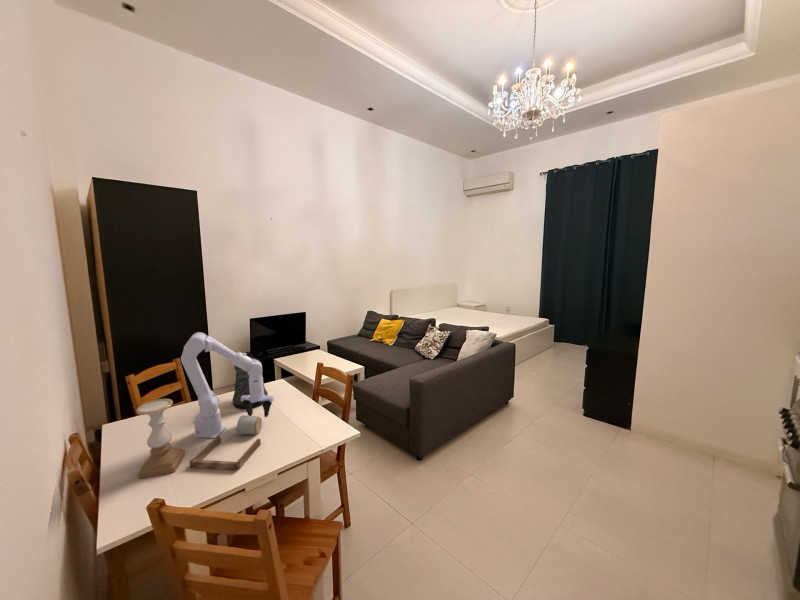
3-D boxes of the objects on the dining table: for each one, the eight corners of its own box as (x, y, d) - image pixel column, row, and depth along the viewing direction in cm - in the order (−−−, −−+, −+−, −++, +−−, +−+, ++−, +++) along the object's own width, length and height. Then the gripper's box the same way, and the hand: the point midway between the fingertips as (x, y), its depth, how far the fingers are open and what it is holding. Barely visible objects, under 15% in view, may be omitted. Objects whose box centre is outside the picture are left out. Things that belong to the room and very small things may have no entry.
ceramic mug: (256, 437, 131) (255, 420, 130) (236, 438, 130) (235, 421, 129) (265, 424, 141) (264, 408, 140) (247, 424, 141) (246, 408, 140)
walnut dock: (190, 467, 113) (189, 461, 112) (218, 442, 128) (217, 436, 127) (238, 470, 111) (237, 464, 111) (260, 444, 126) (260, 438, 126)
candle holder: (174, 472, 110) (166, 410, 106) (137, 479, 107) (128, 415, 103) (185, 453, 121) (178, 396, 117) (152, 458, 117) (144, 400, 114)
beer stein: (248, 413, 150) (244, 364, 146) (221, 404, 158) (217, 358, 154) (275, 398, 165) (271, 353, 161) (249, 391, 173) (246, 348, 169)
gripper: (235, 391, 136) (238, 419, 138) (267, 392, 135) (269, 421, 137) (244, 384, 143) (247, 411, 145) (275, 385, 142) (277, 412, 144)
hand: (258, 415), depth 141 cm, fingers open, 7 cm apart
